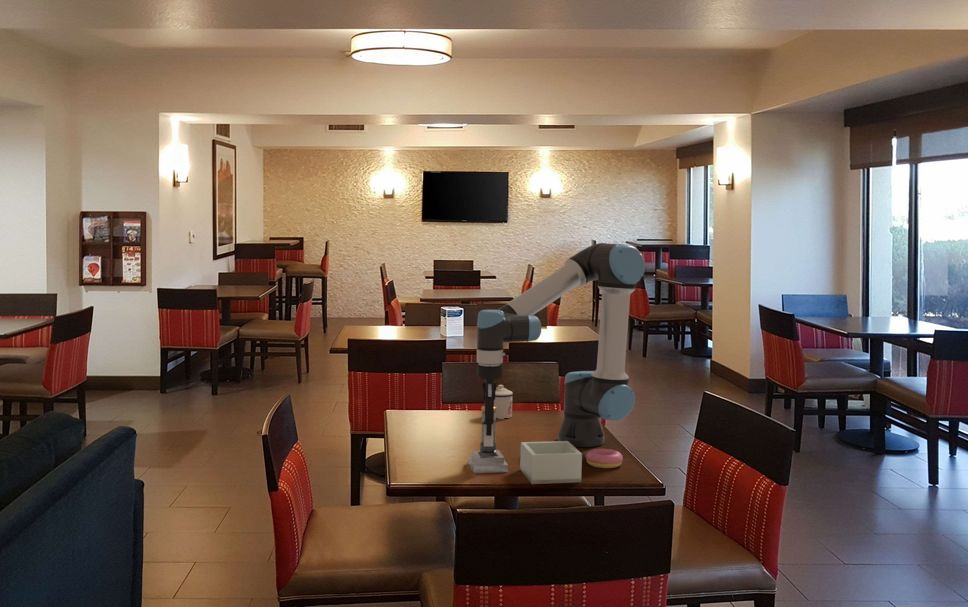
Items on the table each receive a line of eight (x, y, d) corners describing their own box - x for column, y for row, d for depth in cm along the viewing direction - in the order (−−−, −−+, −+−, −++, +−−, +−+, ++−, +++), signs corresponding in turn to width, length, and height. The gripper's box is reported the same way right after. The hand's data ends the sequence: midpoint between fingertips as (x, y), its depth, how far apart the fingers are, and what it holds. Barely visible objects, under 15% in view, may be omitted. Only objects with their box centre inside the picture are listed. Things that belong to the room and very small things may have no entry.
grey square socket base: (500, 462, 266) (501, 449, 266) (508, 471, 256) (508, 458, 256) (467, 463, 264) (467, 450, 264) (473, 473, 254) (473, 459, 254)
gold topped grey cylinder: (480, 449, 262) (481, 405, 261) (496, 449, 262) (496, 405, 261) (479, 453, 257) (480, 408, 256) (496, 453, 257) (496, 409, 256)
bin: (567, 467, 262) (567, 440, 261) (581, 482, 248) (582, 453, 247) (520, 469, 259) (520, 442, 258) (531, 483, 245) (532, 455, 244)
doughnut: (628, 468, 263) (629, 454, 262) (594, 471, 260) (594, 457, 259) (613, 458, 273) (613, 445, 273) (579, 461, 270) (580, 447, 270)
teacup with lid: (514, 419, 321) (514, 387, 320) (488, 419, 320) (489, 387, 319) (509, 412, 333) (510, 381, 332) (485, 412, 332) (485, 381, 331)
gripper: (504, 369, 248) (502, 452, 251) (501, 359, 266) (500, 436, 268) (476, 369, 248) (475, 451, 251) (476, 358, 266) (475, 435, 268)
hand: (488, 443), depth 259 cm, fingers closed on gold topped grey cylinder, 5 cm apart
